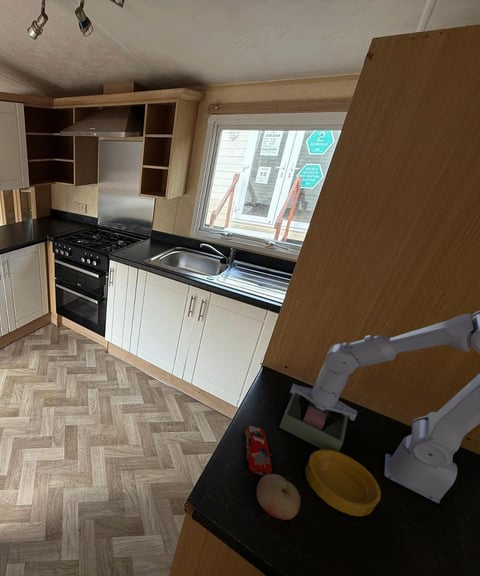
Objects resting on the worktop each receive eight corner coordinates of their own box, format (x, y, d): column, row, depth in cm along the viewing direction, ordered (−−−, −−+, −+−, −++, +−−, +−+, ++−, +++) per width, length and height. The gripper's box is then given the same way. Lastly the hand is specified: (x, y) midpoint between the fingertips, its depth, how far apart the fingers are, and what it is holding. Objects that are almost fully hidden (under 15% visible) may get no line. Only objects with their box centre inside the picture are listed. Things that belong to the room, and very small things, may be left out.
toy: (321, 425, 87) (327, 414, 86) (319, 435, 85) (324, 424, 83) (304, 416, 90) (308, 405, 88) (300, 426, 87) (305, 415, 85)
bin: (342, 425, 88) (349, 411, 86) (335, 457, 79) (343, 443, 77) (290, 401, 96) (295, 388, 93) (278, 428, 87) (284, 414, 85)
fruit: (286, 536, 64) (297, 514, 60) (247, 506, 69) (255, 484, 65) (298, 508, 68) (310, 485, 65) (261, 481, 74) (269, 459, 70)
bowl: (375, 484, 73) (382, 473, 71) (371, 532, 64) (379, 521, 63) (310, 450, 81) (315, 439, 79) (299, 488, 72) (304, 477, 70)
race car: (271, 481, 74) (275, 471, 72) (246, 474, 75) (250, 463, 74) (264, 435, 85) (268, 425, 83) (242, 430, 86) (246, 420, 85)
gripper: (293, 381, 82) (280, 417, 89) (362, 410, 74) (342, 448, 80) (299, 367, 87) (286, 403, 93) (364, 393, 79) (345, 430, 85)
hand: (312, 422), depth 87 cm, fingers closed on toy, 4 cm apart
